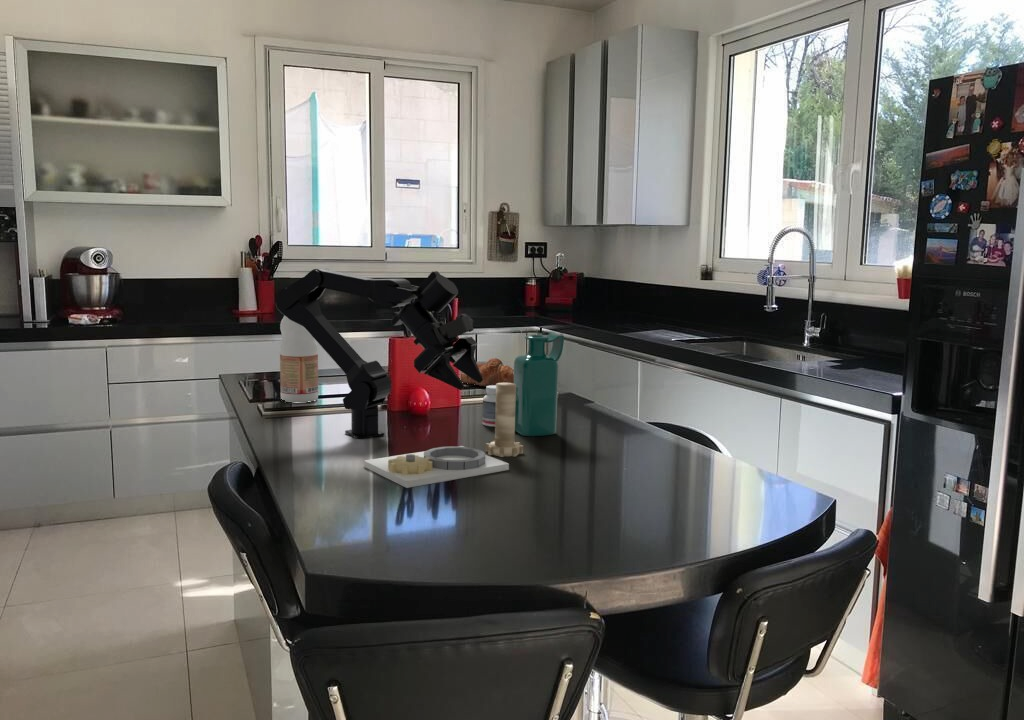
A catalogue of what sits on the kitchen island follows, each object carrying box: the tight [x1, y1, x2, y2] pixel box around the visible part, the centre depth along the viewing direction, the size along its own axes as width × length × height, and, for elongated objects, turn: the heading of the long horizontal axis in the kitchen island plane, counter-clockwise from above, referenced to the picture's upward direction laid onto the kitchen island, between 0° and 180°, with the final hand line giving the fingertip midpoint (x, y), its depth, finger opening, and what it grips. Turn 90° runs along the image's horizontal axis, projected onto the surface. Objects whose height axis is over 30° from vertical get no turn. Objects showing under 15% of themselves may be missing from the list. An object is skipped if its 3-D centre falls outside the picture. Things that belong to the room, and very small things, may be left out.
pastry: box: [460, 357, 514, 387], centre depth 254 cm, size 17×15×8 cm
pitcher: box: [513, 332, 565, 437], centre depth 195 cm, size 10×8×22 cm
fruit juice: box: [279, 315, 319, 402], centre depth 223 cm, size 9×9×28 cm
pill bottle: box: [482, 385, 496, 428], centre depth 202 cm, size 5×5×9 cm
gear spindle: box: [485, 383, 524, 458], centre depth 177 cm, size 8×8×14 cm
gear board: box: [363, 445, 510, 489], centre depth 164 cm, size 16×22×4 cm
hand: (472, 384), depth 179 cm, fingers open, 9 cm apart
